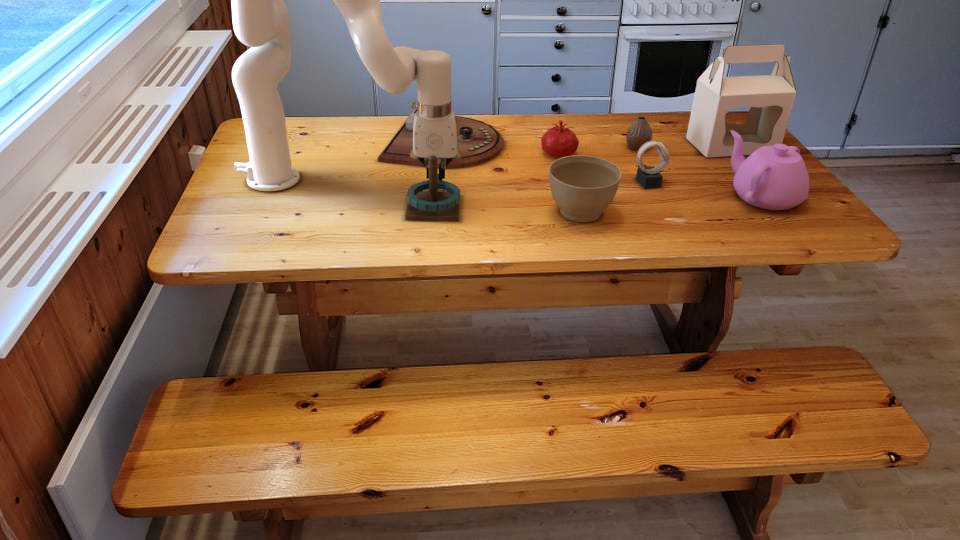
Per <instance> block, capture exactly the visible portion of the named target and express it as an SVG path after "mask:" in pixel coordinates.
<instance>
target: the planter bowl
mask: <svg viewBox="0 0 960 540" xmlns="http://www.w3.org/2000/svg"><path fill="white" fill-rule="evenodd" d="M548 175H549V176H548V178H549V179H548V182H549V190H550V194H551V196H552V198H553V201H554V202H555V204H556V205H557V207H558V208H559V212H560V214H561V216H562V217H563V218H565V219H567V220H570V221H572V222H578V223H591V222H594V221H596V220H598V219H599V218H600V217H601V216H602V213H603V212H604V211H605V210H606V209H607V208H608V207H609V206H610V205H611V203H612V202H613V200H614V199H615V196H616V195H617V192H618V189H619V185H620V182H621V180H622V171H621V169H620V168H619V167H618V165H616V164H615V163H614V162H611V161H609V160H607V159H605V158H601V157H598V156H592V155H586V154H577V155H574V154H573V155H571V156H566V157H562V158H556V160H554V161H552V162H551V163H550V165H549V166H548Z"/></svg>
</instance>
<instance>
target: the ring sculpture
mask: <svg viewBox="0 0 960 540" xmlns="http://www.w3.org/2000/svg"><path fill="white" fill-rule="evenodd" d="M652 147H655V150H656V153H657V154H658V155H659V157H660V159H661V161H660V162H659V163H658V164H657V165H656V166H645V165H644V160H643V155H644V153H645V152H646V151H647V150H649V149H650V148H652ZM670 159H671V156H670V153H669V150H668V149H667V148H666V146H665V145H664V143H663V142H661V141H659V142H658V141H657V140H651V141H649V142H646V143H645V144H643V145H642V146H641V147H640V149H639V150H638V151H637V153H636V163H637V165H638V167H637V169H636V175H635V180H636V181H637V183H639V185H640V186H641V187H642V188H643V189H644V190H649V189H650V190H651V189H660V188H661V187H662V184H663V179H664V176H663V175H662V174H661V172H662V171H663V170H664V169H665V168H666V167H667V166H668V165H669V160H670Z"/></svg>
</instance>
